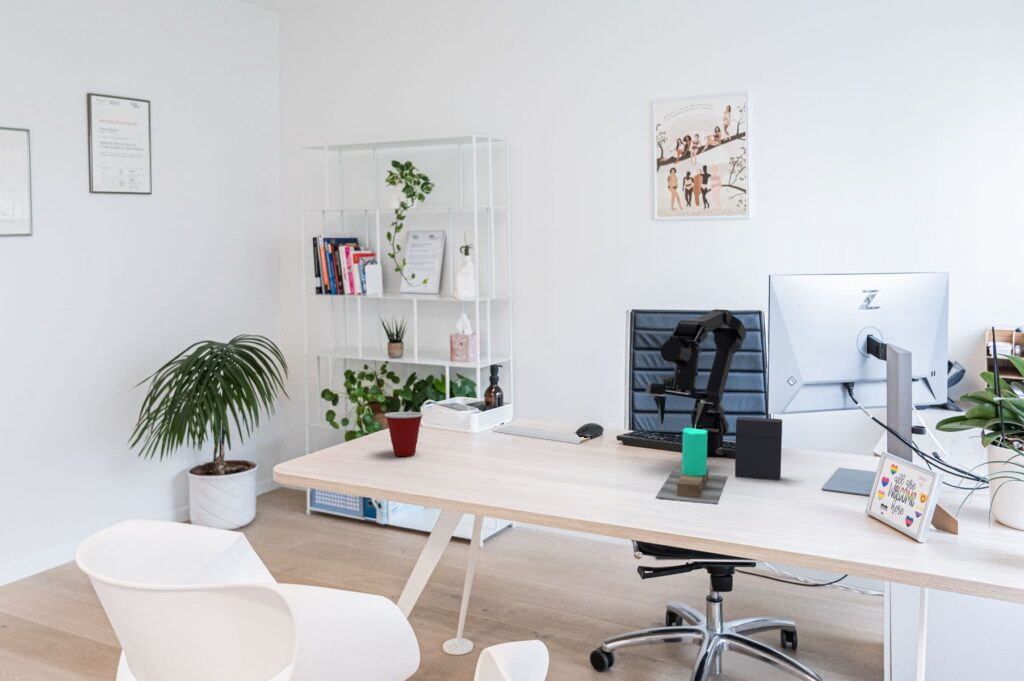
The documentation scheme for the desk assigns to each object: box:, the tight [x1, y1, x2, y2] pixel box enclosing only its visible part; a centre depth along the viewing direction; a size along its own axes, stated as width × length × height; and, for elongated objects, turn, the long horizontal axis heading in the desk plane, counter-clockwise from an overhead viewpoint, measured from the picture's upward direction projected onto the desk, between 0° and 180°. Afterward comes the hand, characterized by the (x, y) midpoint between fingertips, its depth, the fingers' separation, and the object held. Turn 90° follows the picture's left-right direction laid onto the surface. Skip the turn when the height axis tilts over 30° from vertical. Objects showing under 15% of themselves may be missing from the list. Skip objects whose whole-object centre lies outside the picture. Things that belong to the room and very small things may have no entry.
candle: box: [681, 424, 708, 476], centre depth 212 cm, size 6×6×12 cm
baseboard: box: [492, 422, 590, 445], centre depth 268 cm, size 30×3×10 cm
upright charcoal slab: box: [734, 416, 783, 481], centre depth 220 cm, size 11×4×15 cm, turn 71°
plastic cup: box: [384, 411, 424, 458], centre depth 245 cm, size 11×11×12 cm
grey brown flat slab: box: [655, 465, 728, 505], centre depth 212 cm, size 24×14×3 cm, turn 161°
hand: (678, 426), depth 228 cm, fingers open, 9 cm apart
